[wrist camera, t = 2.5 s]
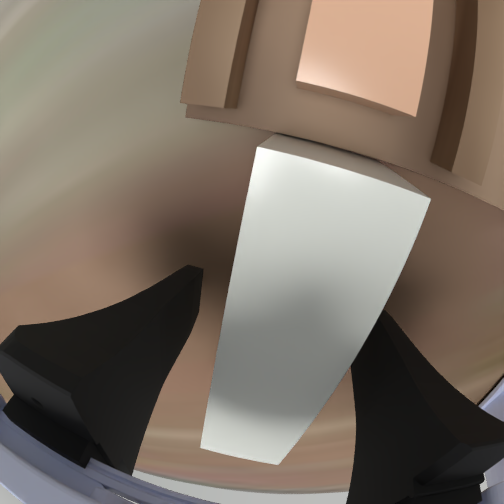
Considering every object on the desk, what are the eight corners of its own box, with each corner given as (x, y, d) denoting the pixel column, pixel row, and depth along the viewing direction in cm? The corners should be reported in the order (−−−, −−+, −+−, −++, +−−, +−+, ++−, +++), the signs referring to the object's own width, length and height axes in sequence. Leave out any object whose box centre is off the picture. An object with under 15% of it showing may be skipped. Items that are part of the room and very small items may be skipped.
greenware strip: (374, 158, 9) (431, 199, 5) (287, 384, 15) (278, 464, 11) (277, 131, 10) (257, 146, 5) (224, 369, 15) (200, 447, 11)
